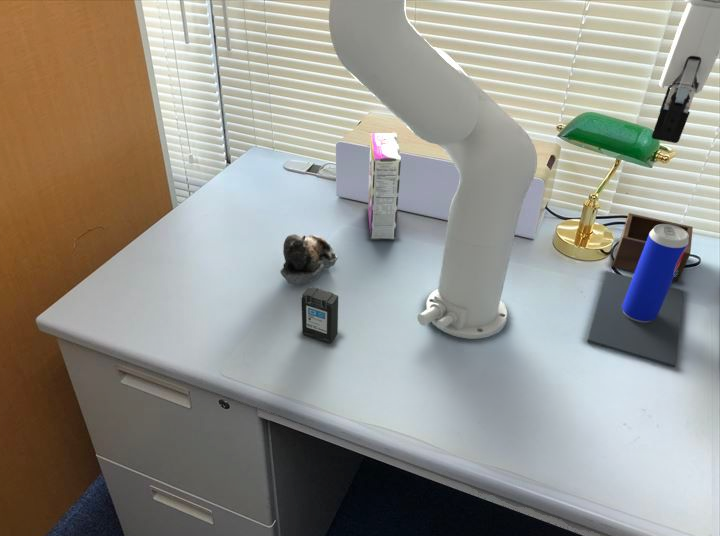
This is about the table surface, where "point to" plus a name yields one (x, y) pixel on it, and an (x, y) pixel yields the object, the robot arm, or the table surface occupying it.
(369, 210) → the candy bar box
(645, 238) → the brown wooden box
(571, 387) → the table surface
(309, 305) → the ink cartridge
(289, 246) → the bison figurine
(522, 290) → the table surface
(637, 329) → the desk mat
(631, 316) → the beverage can
